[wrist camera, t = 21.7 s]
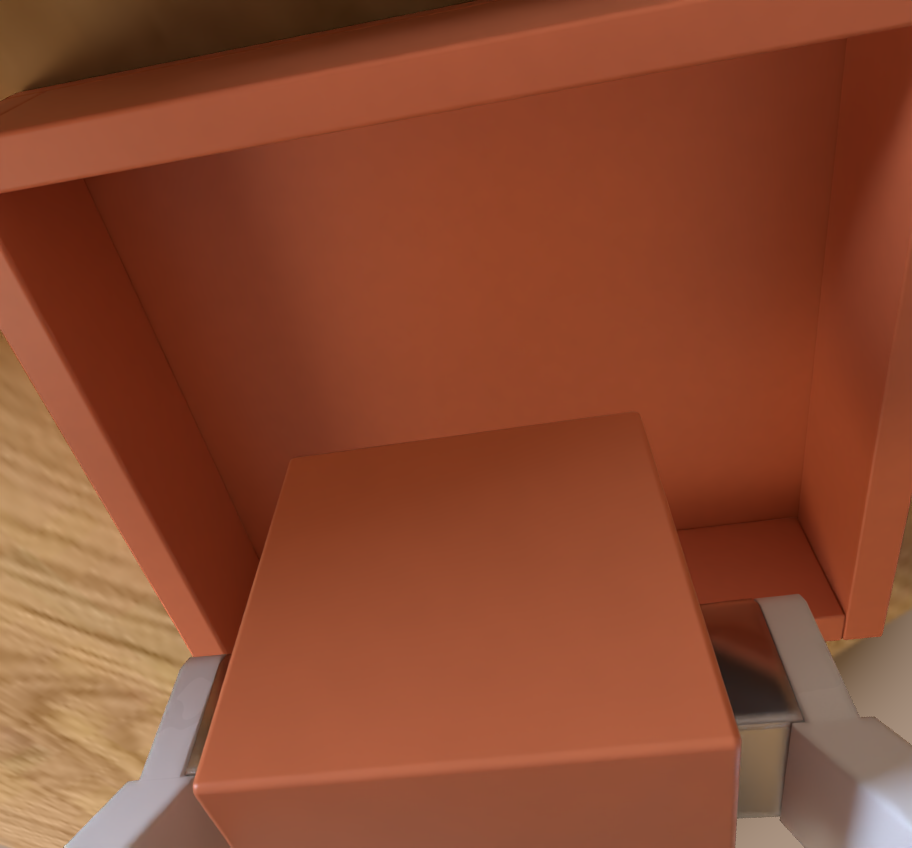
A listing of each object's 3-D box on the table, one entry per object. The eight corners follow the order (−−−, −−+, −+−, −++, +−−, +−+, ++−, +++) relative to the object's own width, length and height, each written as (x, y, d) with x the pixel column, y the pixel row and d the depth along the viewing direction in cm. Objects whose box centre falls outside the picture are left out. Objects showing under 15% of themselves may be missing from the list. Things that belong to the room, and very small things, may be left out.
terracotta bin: (899, -85, 12) (1033, -70, 9) (821, 521, 19) (882, 637, 16) (15, 92, 13) (-107, 153, 11) (252, 586, 21) (217, 700, 18)
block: (639, 407, 10) (744, 744, 6) (651, 641, 12) (729, 975, 8) (288, 454, 10) (185, 792, 6) (371, 669, 13) (332, 997, 9)
